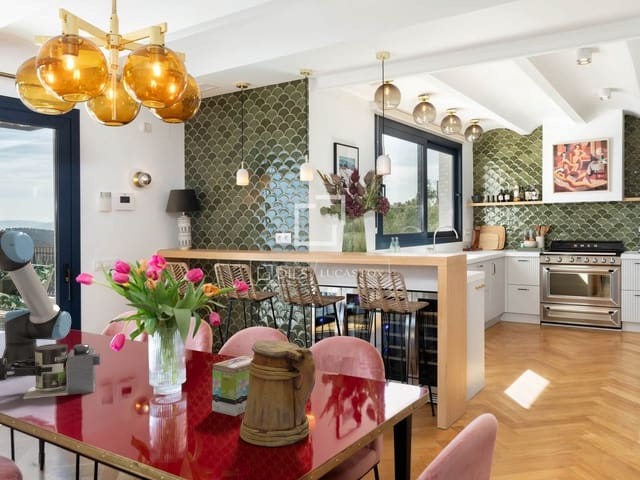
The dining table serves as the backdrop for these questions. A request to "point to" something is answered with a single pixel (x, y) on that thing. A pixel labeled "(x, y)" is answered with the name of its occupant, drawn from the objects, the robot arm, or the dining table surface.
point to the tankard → (278, 394)
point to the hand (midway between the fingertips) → (65, 364)
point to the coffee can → (47, 357)
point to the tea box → (231, 385)
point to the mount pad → (44, 393)
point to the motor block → (81, 369)
